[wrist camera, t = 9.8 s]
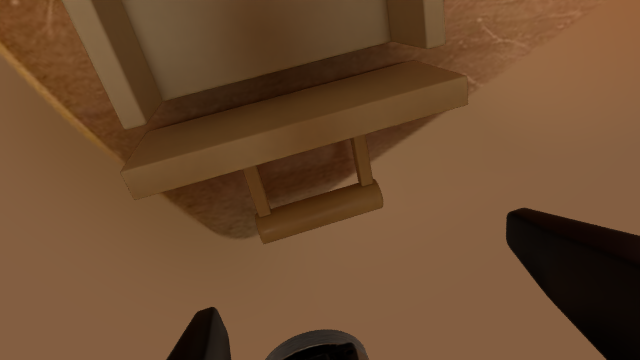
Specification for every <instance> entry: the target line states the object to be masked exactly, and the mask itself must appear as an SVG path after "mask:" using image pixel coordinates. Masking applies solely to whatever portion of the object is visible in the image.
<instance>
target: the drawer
mask: <svg viewBox="0 0 640 360" xmlns="http://www.w3.org/2000/svg"><path fill="white" fill-rule="evenodd" d="M62 2H63V4H64V6H65V8H66V10H67V12H68V14H69V17H70V19H71V21H72V23H73V25H74V27H75V29H76V31H77V33H78V35H79V37H80V39H81V41H82V43H83V45H84V47H85V50H86V52H87V54H88V56H89V58H90V60H91V62H92V64H93V66H94V68H95V70H96V72H97V74H98V76H99V78H100V81H101V83H102V85H103V87H104V89H105V91H106V93H107V95H108V97H109V99H110V101H111V103H112V105H113V107H114V109H115V111H116V114H117V116H118V118H119V120H120V122H121V124H122V126H123V128H124V129H131V128H135V127H139V126H142V125H145V124H147V122H148V121H149V120H150V118H151V117H152V115H153V114H154V113H155V111H156V110H157V108H158V107H159V106H160V104H161V103H162V102H163V101H167V100H171V99H174V98H178V97H182V96H186V95H190V94H193V93H197V92H201V91H205V90H209V89H213V88H216V87H220V86H224V85H228V84H232V83H235V82H239V81H243V80H247V79H251V78H254V77H258V76H262V75H266V74H270V73H274V72H277V71H281V70H285V69H289V68H293V67H296V66H300V65H304V64H308V63H312V62H315V61H319V60H323V59H327V58H331V57H335V56H338V55H342V54H346V53H350V52H354V51H357V50H361V49H365V48H369V47H373V46H376V45H380V44H384V43H388V42H397V43H402V44H406V45H411V46H416V47H420V48H425V49H431V48H434V47H438V46H442V45H444V44H445V43H446V39H445V20H444V1H443V0H62ZM467 104H468V86H467V76H466V75H462V74H459V73H456V72H452V71H449V70H445V69H442V68H438V67H435V66H432V65H428V64H425V63H421V62H418V61H414V60H412V61H408V62H404V63H401V64H397V65H393V66H390V67H386V68H382V69H378V70H375V71H371V72H367V73H364V74H360V75H356V76H352V77H349V78H345V79H341V80H338V81H334V82H330V83H326V84H323V85H319V86H315V87H312V88H308V89H304V90H300V91H297V92H293V93H289V94H286V95H282V96H278V97H274V98H271V99H267V100H263V101H260V102H256V103H252V104H248V105H245V106H241V107H237V108H234V109H230V110H226V111H222V112H219V113H215V114H211V115H208V116H204V117H200V118H196V119H193V120H189V121H185V122H182V123H178V124H174V125H170V126H167V127H163V128H159V129H156V130H152V131H148V132H147V133H146V134H145V136H144V137H143V139H142V140H141V142H140V143H139V145H138V146H137V148H136V149H135V151H134V152H133V154H132V155H131V157H130V158H129V160H128V161H127V163H126V164H125V166H124V167H123V169H122V170H121V172H120V173H121V175H122V177H123V179H124V181H125V183H126V185H127V187H128V189H129V191H130V193H131V194H132V196H133V198H134V200H137V199H140V198H144V197H147V196H151V195H154V194H158V193H161V192H165V191H168V190H172V189H175V188H179V187H182V186H186V185H189V184H193V183H196V182H200V181H203V180H207V179H210V178H214V177H217V176H221V175H224V174H228V173H231V172H235V171H238V170H242V169H243V172H244V175H245V178H246V181H247V184H248V187H249V190H250V193H251V195H252V198H253V201H254V204H255V207H256V210H257V213H256V214H255V220H256V225H257V228H258V232H259V235H260V238H261V240H262V242H263V244H266V243H270V242H273V241H276V240H279V239H283V238H286V237H289V236H292V235H296V234H299V233H302V232H305V231H308V230H312V229H315V228H318V227H321V226H324V225H328V224H331V223H334V222H337V221H341V220H344V219H347V218H351V217H354V216H357V215H360V214H363V213H366V212H370V211H373V210H376V209H380V208H382V207H383V197H382V193H381V190H380V188H379V185H378V183H377V182H376V180H375V179H373V177H372V172H371V165H370V159H369V153H368V147H367V141H366V135H365V134H367V133H371V132H374V131H378V130H381V129H385V128H388V127H392V126H395V125H399V124H402V123H406V122H409V121H413V120H416V119H420V118H423V117H427V116H430V115H433V114H437V113H440V112H444V111H447V110H451V109H454V108H458V107H461V106H465V105H467ZM346 139H351V145H352V150H353V155H354V161H355V166H356V171H357V177H358V181H359V183H356V184H353V185H350V186H347V187H343V188H340V189H336V190H333V191H330V192H326V193H323V194H320V195H316V196H313V197H310V198H306V199H303V200H300V201H296V202H293V203H290V204H286V205H283V206H280V207H276V208H273V209H271V208H270V205H269V202H268V199H267V196H266V193H265V189H264V186H263V183H262V180H261V177H260V174H259V171H258V168H257V165H259V164H263V163H266V162H270V161H273V160H276V159H280V158H283V157H287V156H290V155H294V154H297V153H301V152H304V151H308V150H311V149H315V148H318V147H322V146H325V145H329V144H332V143H336V142H339V141H343V140H346Z"/></svg>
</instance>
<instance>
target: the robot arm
mask: <svg viewBox="0 0 640 360" xmlns="http://www.w3.org/2000/svg"><path fill="white" fill-rule="evenodd" d="M506 240H507V243H508V245H509V247H510V249H511V250H512V251H513V253H514V254H515V255H516V256H517V258H518V259H519V260H520V262H521V263H522V264H523V265H524V267H525V268H526V269H527V271H528V272H529V273H530V275H531V276H532V277H533V279H534V280H535V281H536V283H537V284H538V285H539V286H540V288H541V289H542V290H543V291H544V292H545V294H546V295H547V296H548V297H549V298H550V300H551V301H552V302H553V303H554V304H555V305H556V306H557V307H558V308H559V309H560V310H561V312H562V313H564V315H565V316H566V317H567V318H568V319H569V320H570V321H571V322H572V323H573V324H574V325H575V326H576V328H577V329H578V330H579V331H580V332H581V333H582V334H583V335H584V336H585V337H586V338H587V339H588V340H589V341H590V342H591V344H593V346H594V347H595V348H596V349H597V350H598V351H599V352H600V353H601V354H602V355H603V356H604V357H605V358H606V360H640V236H638V235H634V234H630V233H626V232H622V231H618V230H614V229H609V228H606V227H601V226H597V225H593V224H589V223H585V222H581V221H577V220H573V219H568V218H565V217H560V216H556V215H552V214H548V213H544V212H540V211H535V210H532V209H528V208H520V209H517V210H514V211H511V212H509V213H508V215H507V222H506ZM166 360H231V355H230V345H229V338H228V333H227V330H226V328H225V326H224V324H223V322H222V319H221V317H220V315H219V313H218V311H217V309H216V308H214V307H210V308H207V309H204V310H201V311H198V312H197V313H196V314H195V315H194V317H193V319H192V320H191V322H190V323H189V325H188V326H187V328H186V330H185V331H184V333H183V334H182V336H181V337H180V339H179V341H178V342H177V344H176V345H175V347H174V349H173V350H172V352H171V353H170V355H169V356H168V358H167V359H166ZM298 360H359V358H358V354H357V350H356V347H355V345H354V343H352V342H348V343H344V344H341V345H338V346H336V347H333V348H330V349H327V350H324V351H321V352H318V353H315V354H312V355H309V356H307V357H304V358H301V359H298Z"/></svg>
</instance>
